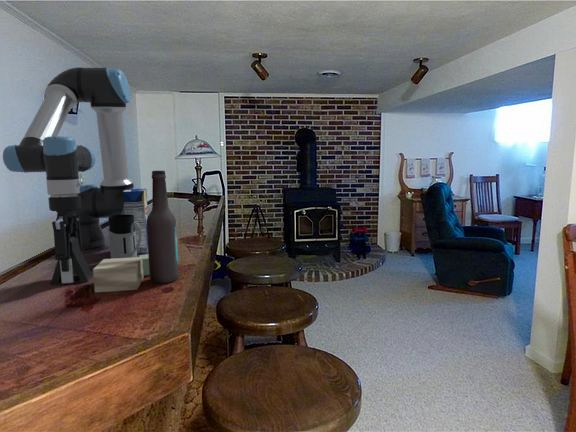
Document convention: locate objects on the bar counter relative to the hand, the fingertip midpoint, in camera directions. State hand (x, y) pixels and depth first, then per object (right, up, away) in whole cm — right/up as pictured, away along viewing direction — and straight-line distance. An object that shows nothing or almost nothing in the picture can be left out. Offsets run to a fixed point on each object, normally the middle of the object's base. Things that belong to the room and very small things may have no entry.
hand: (72, 278), depth 107 cm
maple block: (+15, -1, -4) cm, 16 cm away
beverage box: (+5, +5, +33) cm, 34 cm away
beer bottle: (+25, 0, 0) cm, 26 cm away
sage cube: (+19, +1, +7) cm, 20 cm away
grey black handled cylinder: (+9, +2, +17) cm, 19 cm away
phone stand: (0, -1, 0) cm, 1 cm away
